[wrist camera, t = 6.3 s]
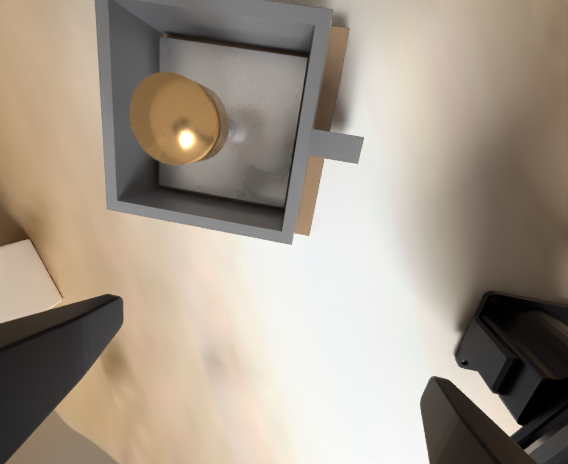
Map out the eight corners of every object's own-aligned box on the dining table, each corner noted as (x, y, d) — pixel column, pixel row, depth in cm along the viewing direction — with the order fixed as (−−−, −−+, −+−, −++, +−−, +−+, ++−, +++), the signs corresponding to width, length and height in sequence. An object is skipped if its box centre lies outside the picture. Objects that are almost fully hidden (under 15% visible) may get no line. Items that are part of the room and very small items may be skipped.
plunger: (308, 61, 15) (298, 1, 9) (284, 205, 18) (264, 243, 11) (165, 40, 16) (54, -31, 9) (163, 183, 19) (77, 207, 12)
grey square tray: (374, 38, 16) (400, -11, 11) (330, 235, 20) (334, 269, 15) (148, 7, 17) (71, -52, 12) (150, 201, 21) (92, 221, 16)
